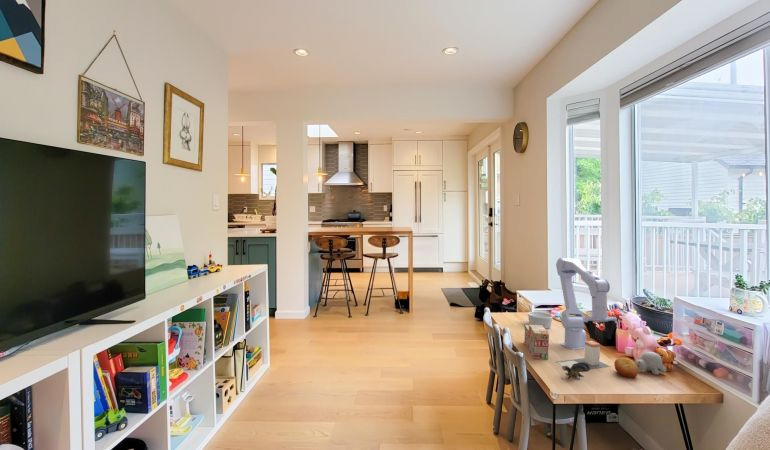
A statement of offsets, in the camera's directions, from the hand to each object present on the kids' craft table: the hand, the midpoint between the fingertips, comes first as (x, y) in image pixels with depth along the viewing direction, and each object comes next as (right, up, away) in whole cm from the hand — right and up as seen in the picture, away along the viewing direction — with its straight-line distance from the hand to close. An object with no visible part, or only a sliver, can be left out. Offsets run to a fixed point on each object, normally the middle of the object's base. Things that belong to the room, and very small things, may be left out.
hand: (600, 338), depth 153 cm
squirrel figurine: (-18, -12, -13) cm, 25 cm away
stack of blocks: (-22, -11, +15) cm, 29 cm away
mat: (-8, -11, 0) cm, 14 cm away
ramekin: (-3, -10, +53) cm, 54 cm away
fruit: (+4, -12, -10) cm, 16 cm away
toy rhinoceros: (+16, -12, -6) cm, 21 cm away
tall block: (-3, -11, +1) cm, 12 cm away
